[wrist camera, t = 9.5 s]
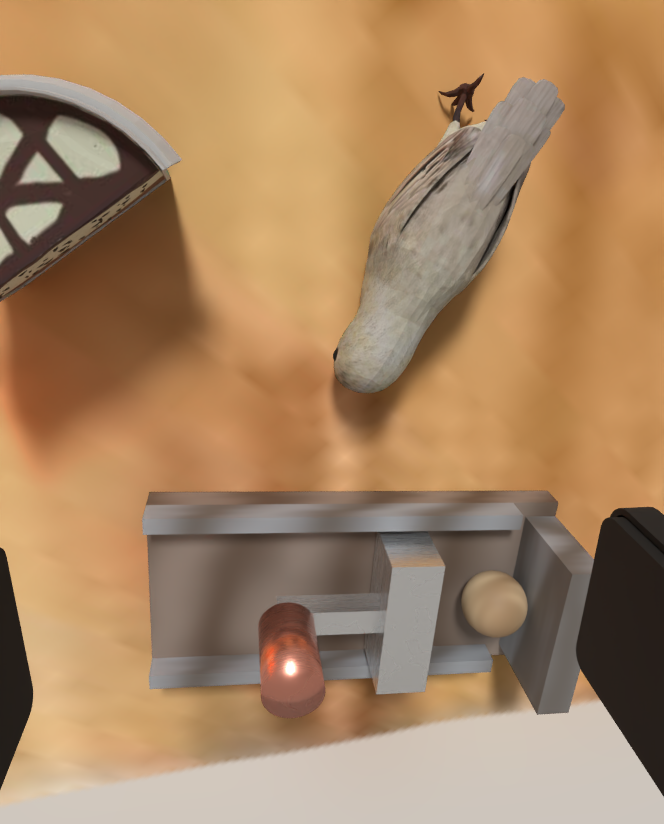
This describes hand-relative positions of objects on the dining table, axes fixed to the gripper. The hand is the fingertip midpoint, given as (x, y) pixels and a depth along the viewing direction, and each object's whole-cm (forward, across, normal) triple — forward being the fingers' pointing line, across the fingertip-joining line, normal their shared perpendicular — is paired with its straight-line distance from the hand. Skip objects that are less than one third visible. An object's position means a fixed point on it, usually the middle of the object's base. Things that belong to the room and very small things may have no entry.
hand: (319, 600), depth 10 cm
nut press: (+26, -5, +18) cm, 32 cm away
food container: (+26, +10, -5) cm, 28 cm away
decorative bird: (+26, -8, -2) cm, 27 cm away
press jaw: (+24, -4, +18) cm, 30 cm away
